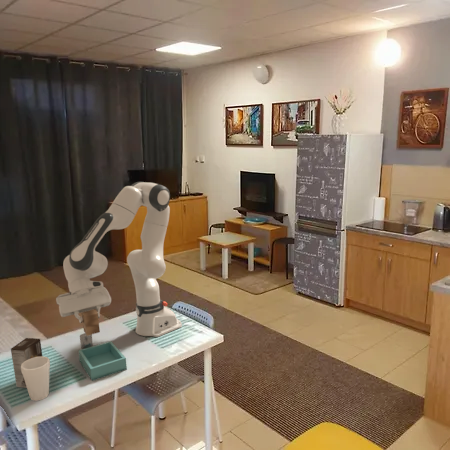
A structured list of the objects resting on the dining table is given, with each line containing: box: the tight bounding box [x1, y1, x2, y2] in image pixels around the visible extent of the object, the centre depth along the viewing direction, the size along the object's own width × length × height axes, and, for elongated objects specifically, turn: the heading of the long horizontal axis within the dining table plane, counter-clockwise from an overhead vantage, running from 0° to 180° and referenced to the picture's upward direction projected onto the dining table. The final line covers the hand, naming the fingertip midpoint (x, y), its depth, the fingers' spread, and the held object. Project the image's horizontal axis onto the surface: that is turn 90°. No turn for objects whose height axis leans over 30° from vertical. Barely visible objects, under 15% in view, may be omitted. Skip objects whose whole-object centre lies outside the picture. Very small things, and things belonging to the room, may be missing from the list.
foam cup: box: [21, 355, 51, 402], centre depth 152 cm, size 10×9×13 cm
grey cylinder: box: [79, 332, 94, 350], centre depth 183 cm, size 5×5×8 cm
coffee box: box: [10, 337, 43, 389], centre depth 161 cm, size 9×6×16 cm
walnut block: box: [81, 309, 101, 336], centre depth 167 cm, size 5×5×8 cm
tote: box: [77, 340, 128, 381], centre depth 172 cm, size 14×18×5 cm
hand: (90, 319), depth 167 cm, fingers closed on walnut block, 5 cm apart
